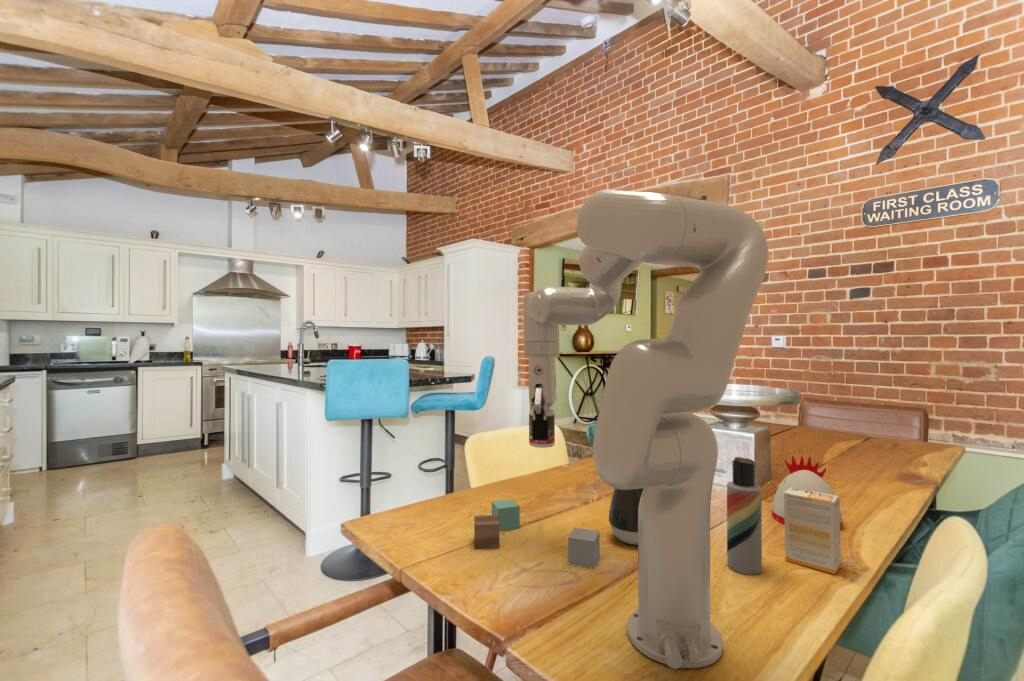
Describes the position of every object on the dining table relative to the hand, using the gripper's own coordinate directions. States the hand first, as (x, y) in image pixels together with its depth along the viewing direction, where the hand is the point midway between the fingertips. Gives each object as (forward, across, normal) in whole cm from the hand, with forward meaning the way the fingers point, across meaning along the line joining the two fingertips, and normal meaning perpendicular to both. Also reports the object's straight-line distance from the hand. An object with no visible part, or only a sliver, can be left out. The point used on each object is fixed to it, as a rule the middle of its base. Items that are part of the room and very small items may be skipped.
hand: (542, 435), depth 99 cm
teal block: (+22, +6, +9) cm, 24 cm away
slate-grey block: (+22, -8, -9) cm, 25 cm away
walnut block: (+22, -4, +11) cm, 25 cm away
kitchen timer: (+22, +21, -59) cm, 66 cm away
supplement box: (+22, -2, -51) cm, 55 cm away
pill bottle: (+2, 0, 0) cm, 2 cm away
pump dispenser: (+22, +3, -19) cm, 29 cm away
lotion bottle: (+22, -6, -38) cm, 44 cm away
